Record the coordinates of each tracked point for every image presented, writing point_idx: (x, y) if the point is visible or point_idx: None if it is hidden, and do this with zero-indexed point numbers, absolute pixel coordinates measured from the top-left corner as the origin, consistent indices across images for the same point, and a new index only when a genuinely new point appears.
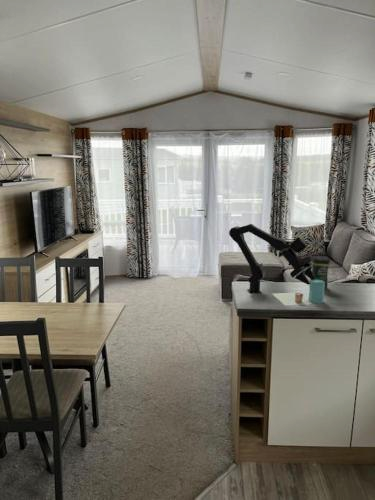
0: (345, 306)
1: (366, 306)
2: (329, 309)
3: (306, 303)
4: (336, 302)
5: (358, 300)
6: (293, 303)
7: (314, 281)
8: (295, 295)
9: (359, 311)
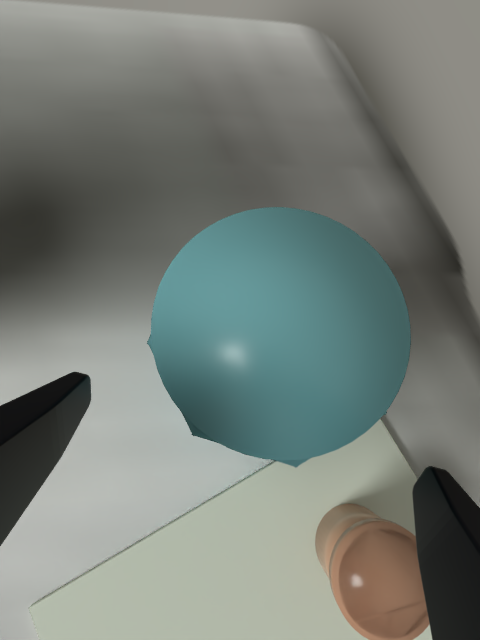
0: (279, 153)
1: (220, 36)
2: (410, 261)
3: (371, 456)
4: (204, 210)
5: (94, 69)
6: None
7: (322, 381)
8: (414, 626)
9: (350, 80)
